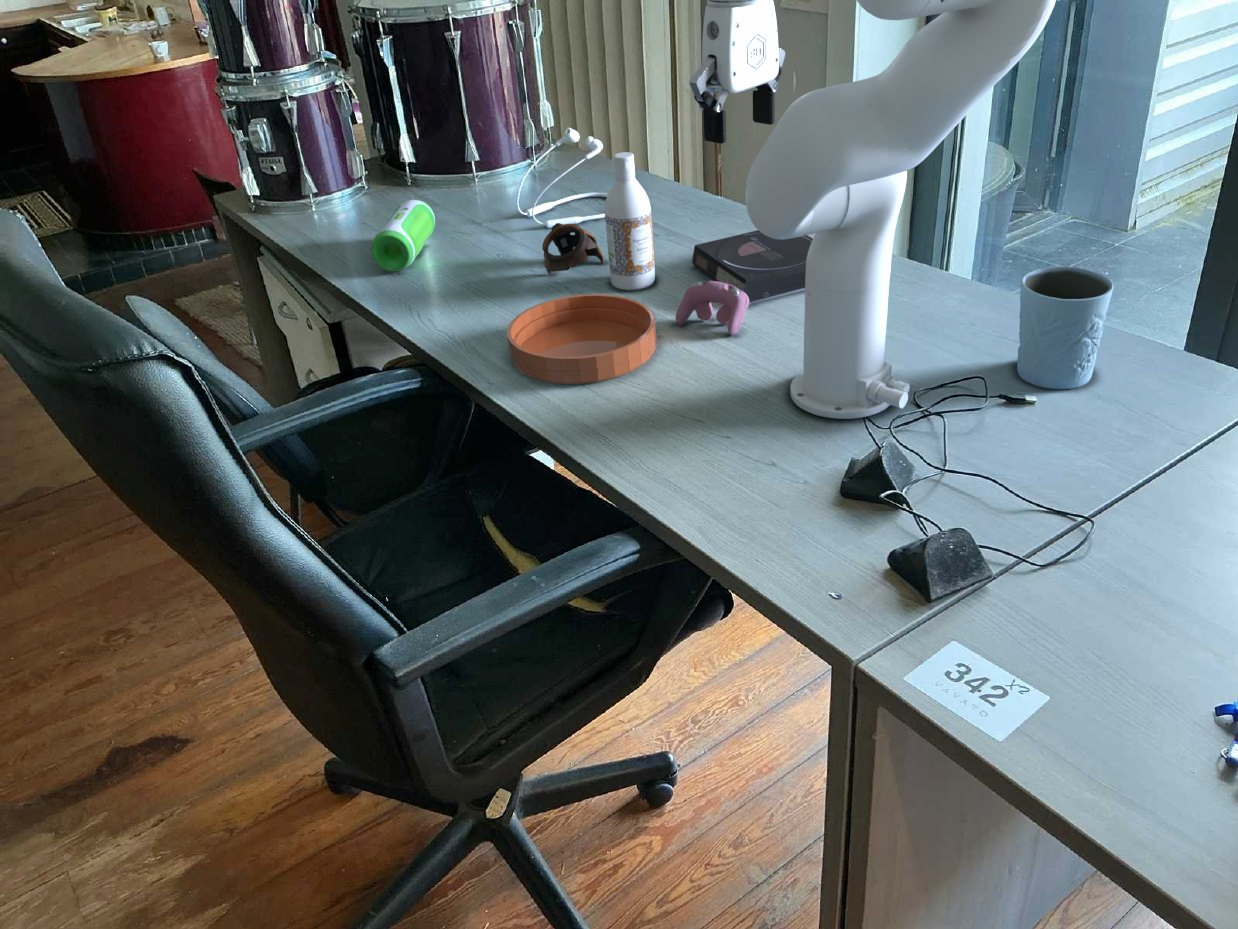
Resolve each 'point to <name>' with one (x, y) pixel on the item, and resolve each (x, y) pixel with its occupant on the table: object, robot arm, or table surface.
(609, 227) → the bath foam
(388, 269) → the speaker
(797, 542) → the table surface
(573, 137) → the earphone
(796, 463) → the table surface
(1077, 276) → the embossed flower pot
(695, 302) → the video game controller
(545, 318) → the catchall bowl
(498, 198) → the table surface
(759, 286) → the portable cd player
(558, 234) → the brown ring bracket
